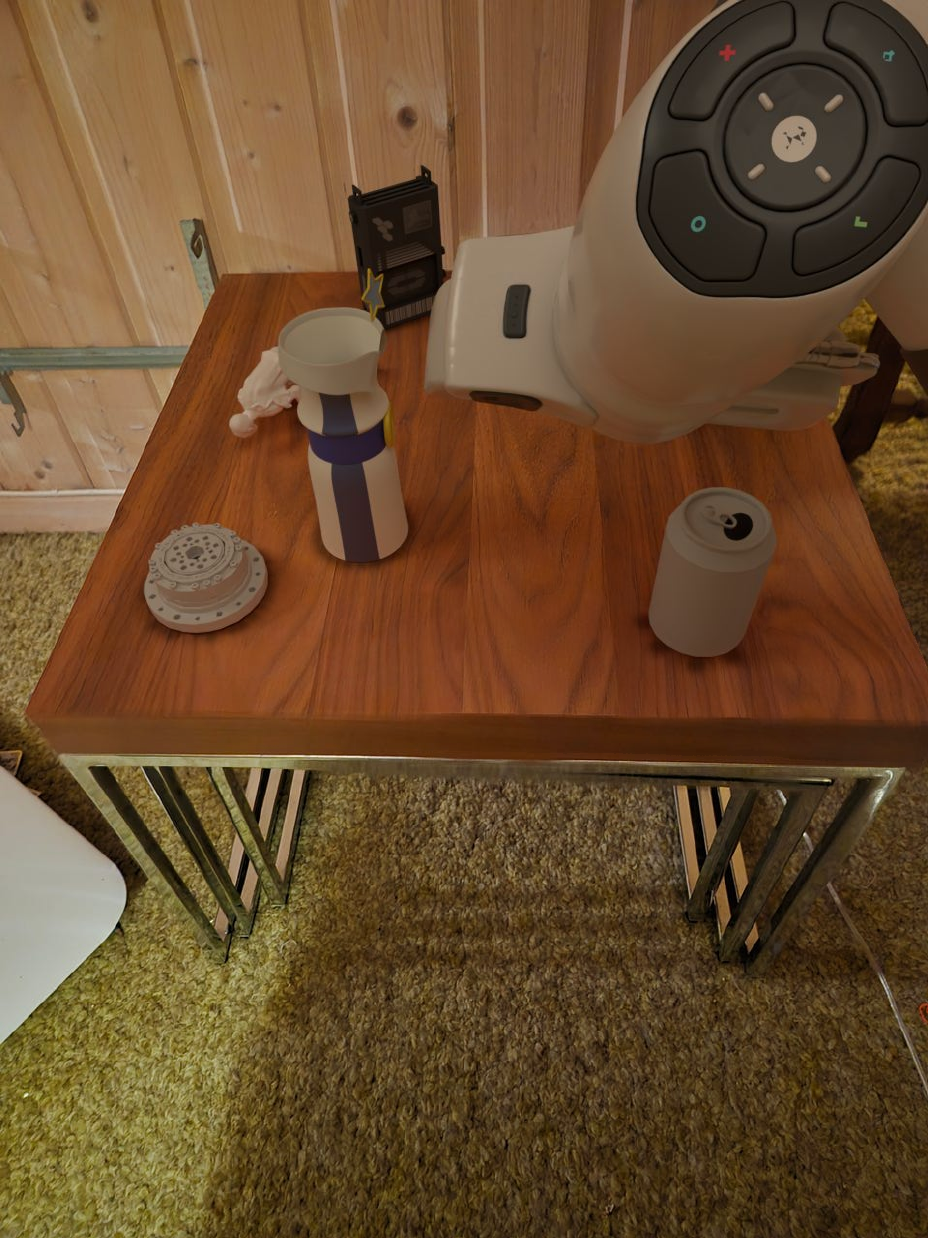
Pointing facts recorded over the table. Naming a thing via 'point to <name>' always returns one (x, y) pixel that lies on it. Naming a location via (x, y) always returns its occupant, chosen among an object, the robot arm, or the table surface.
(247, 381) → the figurine
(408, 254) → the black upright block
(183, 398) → the table surface
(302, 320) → the water bottle
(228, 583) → the mechanical component
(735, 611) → the can
